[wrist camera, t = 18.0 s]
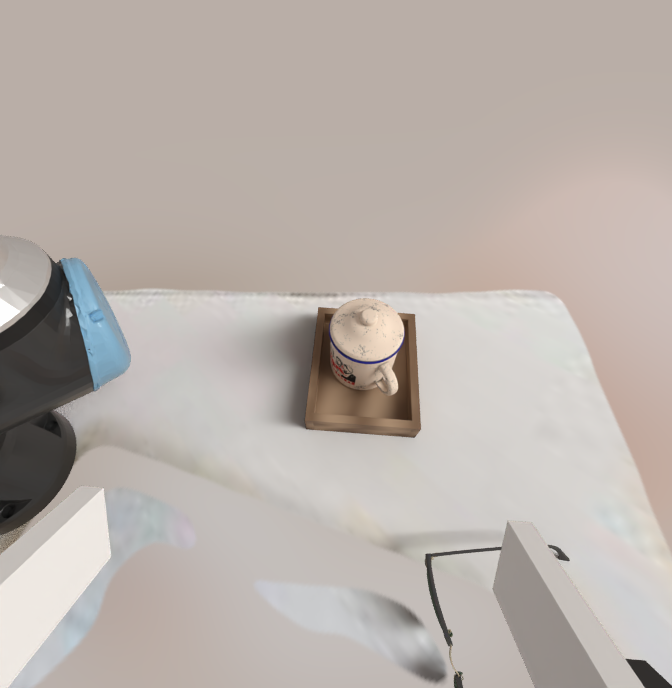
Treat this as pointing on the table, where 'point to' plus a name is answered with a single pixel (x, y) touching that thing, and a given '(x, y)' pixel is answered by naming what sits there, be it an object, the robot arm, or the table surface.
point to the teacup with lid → (366, 345)
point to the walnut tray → (363, 405)
